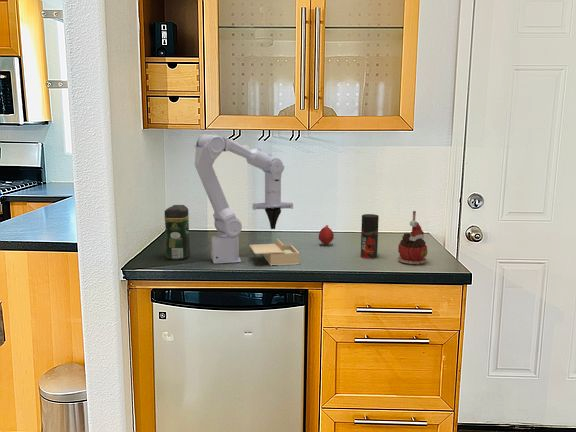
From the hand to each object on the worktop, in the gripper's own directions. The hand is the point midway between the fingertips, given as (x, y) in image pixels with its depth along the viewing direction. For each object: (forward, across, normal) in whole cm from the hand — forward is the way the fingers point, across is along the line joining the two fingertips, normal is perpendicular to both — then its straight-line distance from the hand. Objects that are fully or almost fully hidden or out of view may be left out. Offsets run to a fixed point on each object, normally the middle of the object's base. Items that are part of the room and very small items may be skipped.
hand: (272, 228), depth 200 cm
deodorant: (+10, +33, -10) cm, 36 cm away
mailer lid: (+5, -4, -10) cm, 12 cm away
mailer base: (+9, +1, -10) cm, 14 cm away
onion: (+10, +23, +10) cm, 27 cm away
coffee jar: (+10, -34, +2) cm, 35 cm away
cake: (+10, +46, -20) cm, 51 cm away
